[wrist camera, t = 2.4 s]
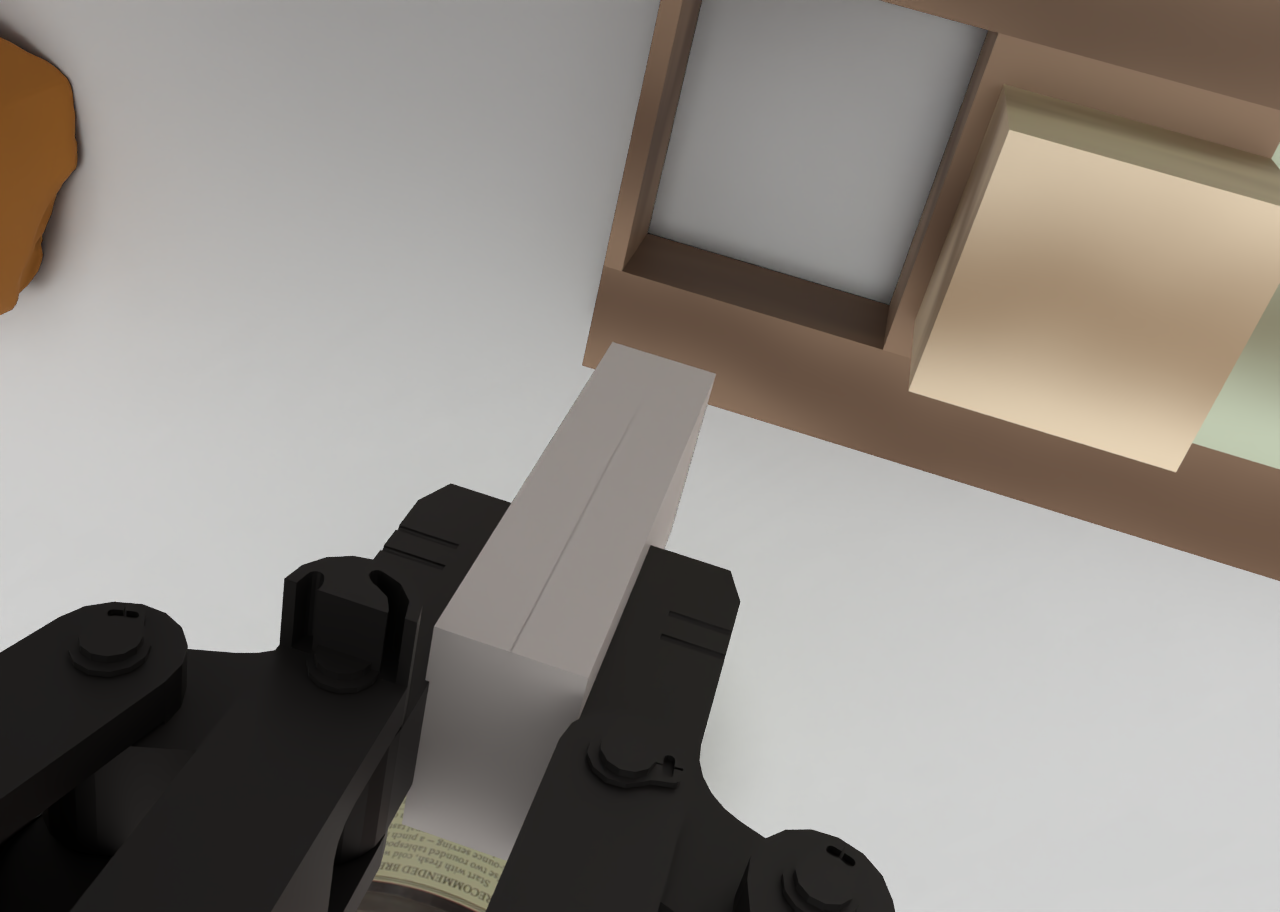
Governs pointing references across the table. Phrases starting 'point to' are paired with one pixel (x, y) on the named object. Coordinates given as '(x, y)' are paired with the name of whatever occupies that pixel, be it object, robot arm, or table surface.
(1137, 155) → the maple block
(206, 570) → the table surface
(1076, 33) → the trap deck
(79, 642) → the robot arm
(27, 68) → the coffee package
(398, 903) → the coffee can
